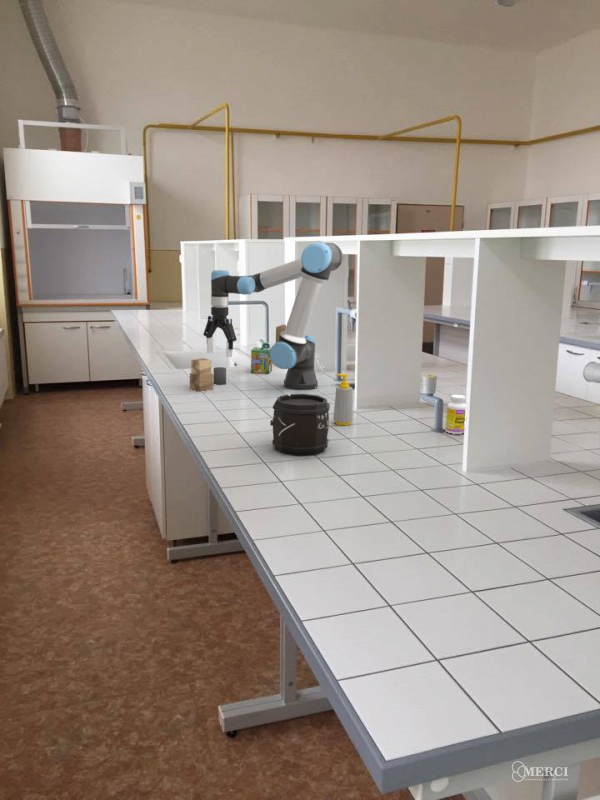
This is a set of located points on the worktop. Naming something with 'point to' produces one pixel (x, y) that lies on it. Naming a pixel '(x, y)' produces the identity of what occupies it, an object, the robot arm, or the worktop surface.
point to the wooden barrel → (300, 424)
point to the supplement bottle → (456, 415)
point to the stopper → (219, 375)
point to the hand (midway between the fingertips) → (219, 354)
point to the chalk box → (261, 360)
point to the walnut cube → (201, 382)
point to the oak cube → (201, 366)
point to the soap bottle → (343, 403)
